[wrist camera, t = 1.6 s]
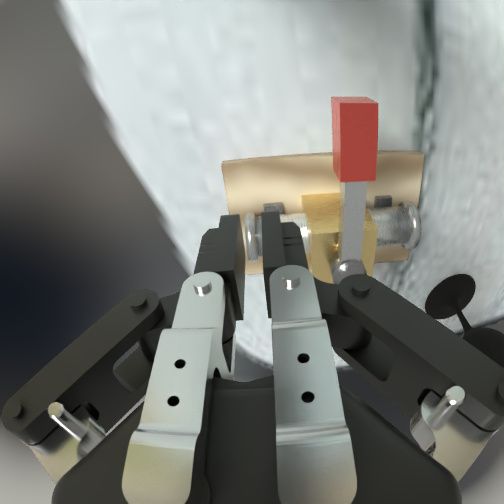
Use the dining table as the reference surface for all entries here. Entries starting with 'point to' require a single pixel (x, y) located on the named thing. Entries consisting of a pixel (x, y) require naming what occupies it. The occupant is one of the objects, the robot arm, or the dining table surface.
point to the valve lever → (352, 177)
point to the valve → (327, 230)
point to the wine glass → (452, 302)
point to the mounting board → (316, 187)
